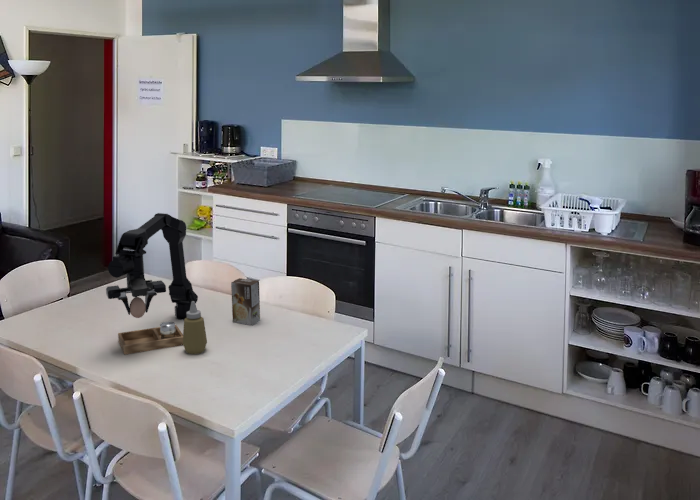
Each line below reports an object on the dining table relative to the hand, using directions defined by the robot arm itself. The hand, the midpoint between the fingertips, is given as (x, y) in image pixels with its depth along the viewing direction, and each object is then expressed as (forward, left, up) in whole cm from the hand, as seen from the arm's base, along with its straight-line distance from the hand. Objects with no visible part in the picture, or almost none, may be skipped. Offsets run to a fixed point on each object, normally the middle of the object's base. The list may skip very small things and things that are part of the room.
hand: (137, 313), depth 223 cm
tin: (-10, 0, -11) cm, 15 cm away
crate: (-4, 0, -12) cm, 13 cm away
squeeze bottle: (-16, +13, -12) cm, 24 cm away
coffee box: (-41, -8, -12) cm, 43 cm away
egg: (0, 0, -2) cm, 2 cm away
